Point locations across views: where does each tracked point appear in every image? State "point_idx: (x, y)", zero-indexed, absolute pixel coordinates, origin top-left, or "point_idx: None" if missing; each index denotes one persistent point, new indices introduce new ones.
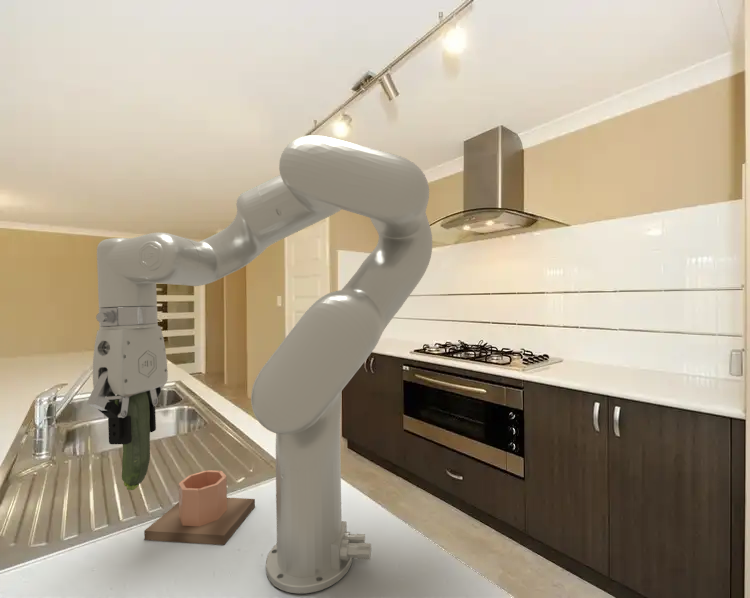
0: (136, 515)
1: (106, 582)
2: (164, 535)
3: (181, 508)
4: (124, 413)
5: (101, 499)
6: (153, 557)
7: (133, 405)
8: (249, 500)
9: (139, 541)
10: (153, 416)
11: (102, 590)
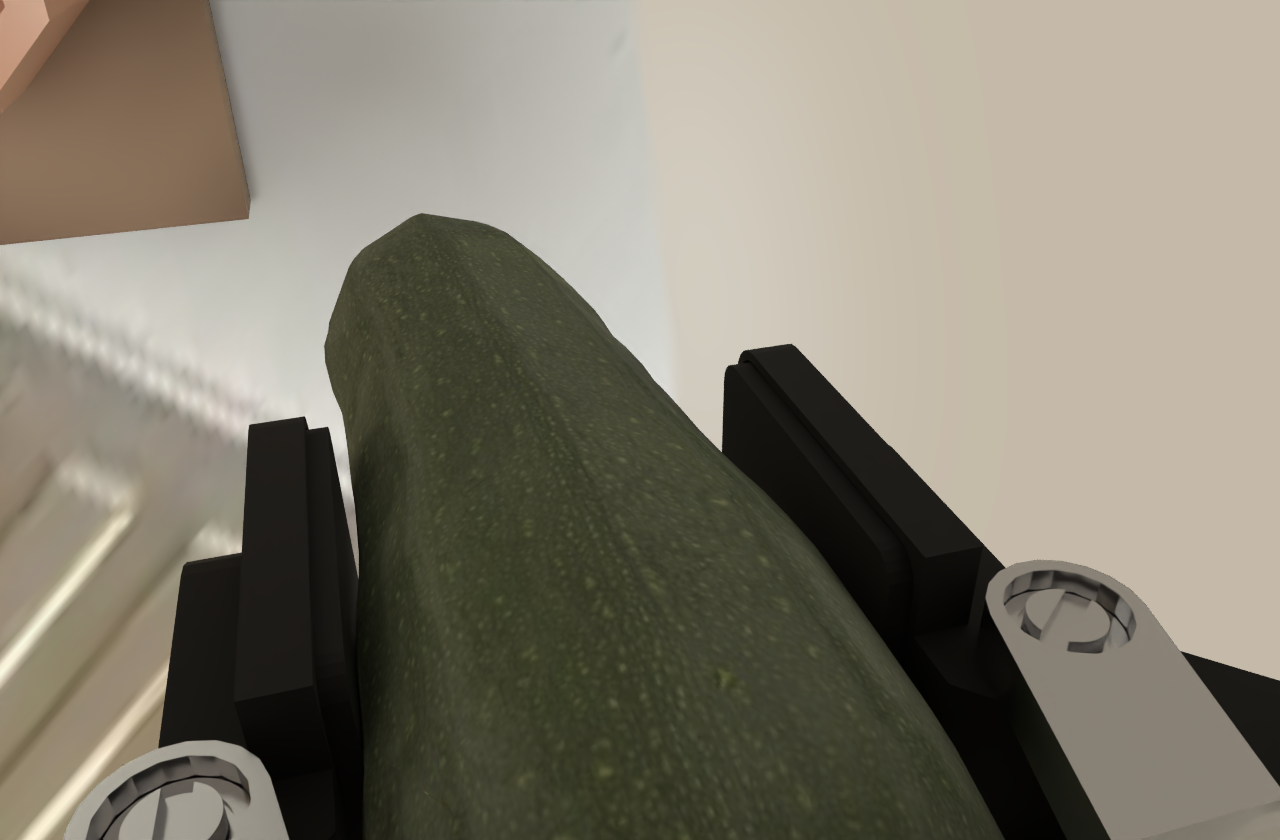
0: (54, 470)
1: (588, 107)
2: (217, 61)
3: (58, 30)
4: (1046, 616)
5: (4, 803)
6: (371, 2)
7: (917, 715)
8: None
9: (269, 220)
10: (303, 548)
11: (636, 77)
